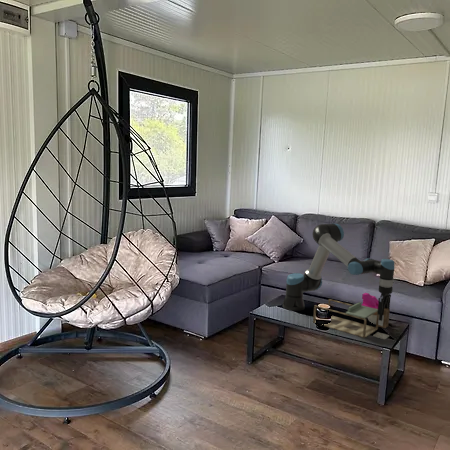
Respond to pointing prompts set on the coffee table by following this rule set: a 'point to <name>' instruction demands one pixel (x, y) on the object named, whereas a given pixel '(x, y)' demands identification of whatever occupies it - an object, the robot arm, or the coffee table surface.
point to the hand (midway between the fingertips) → (382, 324)
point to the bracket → (369, 301)
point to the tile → (381, 335)
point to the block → (386, 318)
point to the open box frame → (347, 323)
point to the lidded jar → (373, 317)
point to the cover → (361, 310)
